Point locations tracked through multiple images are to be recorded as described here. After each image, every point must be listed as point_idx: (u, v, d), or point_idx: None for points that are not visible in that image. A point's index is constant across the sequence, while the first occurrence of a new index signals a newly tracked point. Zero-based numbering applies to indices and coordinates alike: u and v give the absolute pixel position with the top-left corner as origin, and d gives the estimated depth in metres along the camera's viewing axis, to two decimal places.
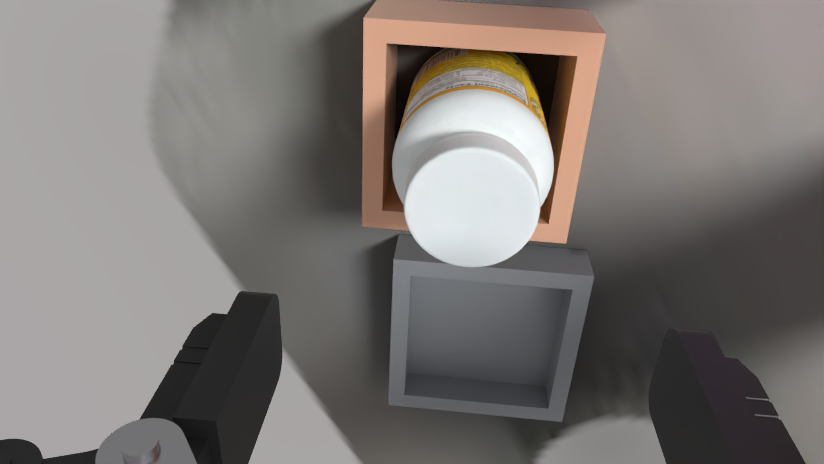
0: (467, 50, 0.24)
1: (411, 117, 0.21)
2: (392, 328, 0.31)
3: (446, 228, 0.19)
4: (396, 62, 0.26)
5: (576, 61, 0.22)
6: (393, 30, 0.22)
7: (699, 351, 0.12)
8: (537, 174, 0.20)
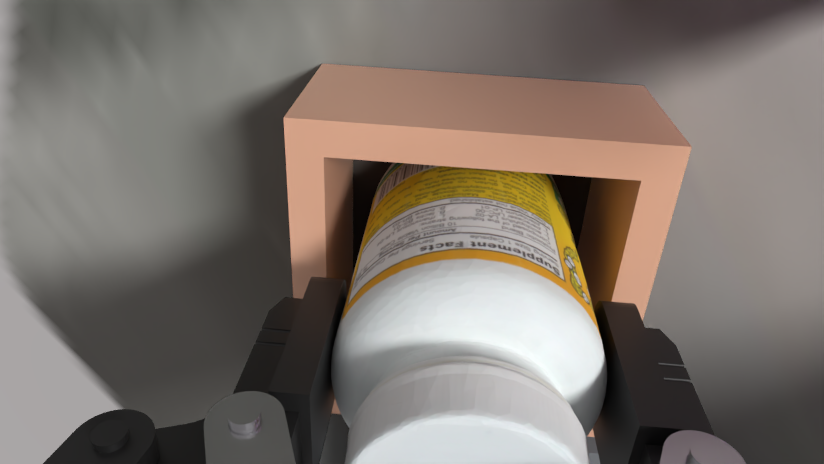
0: None
1: (360, 302, 0.12)
2: None
3: None
4: (351, 158, 0.17)
5: (638, 187, 0.13)
6: (334, 137, 0.13)
7: (621, 321, 0.13)
8: (581, 406, 0.12)
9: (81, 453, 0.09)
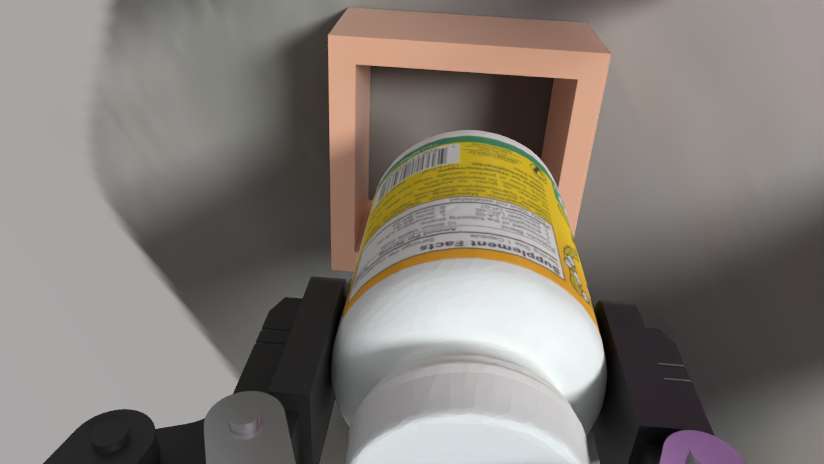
0: (458, 152, 0.15)
1: (360, 301, 0.12)
2: None
3: None
4: (369, 81, 0.23)
5: (576, 85, 0.19)
6: (363, 49, 0.19)
7: (620, 320, 0.13)
8: (581, 405, 0.12)
9: (81, 453, 0.09)
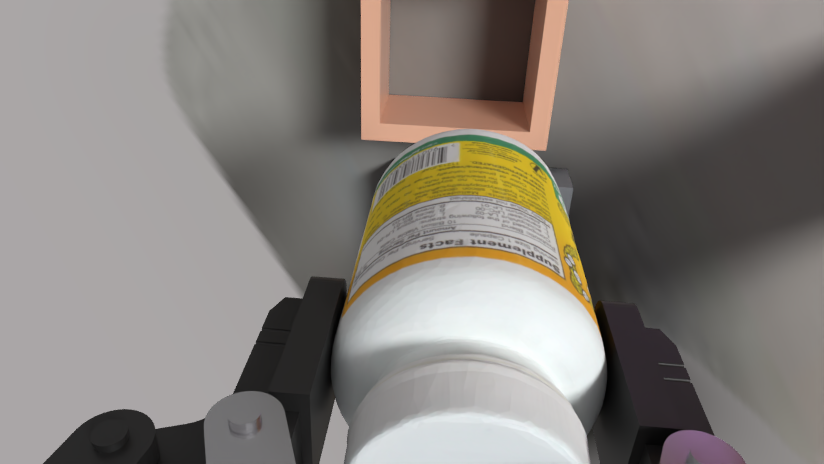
0: (458, 151, 0.15)
1: (360, 300, 0.12)
2: None
3: None
4: None
5: None
6: None
7: (620, 321, 0.13)
8: (581, 404, 0.12)
9: (81, 453, 0.09)
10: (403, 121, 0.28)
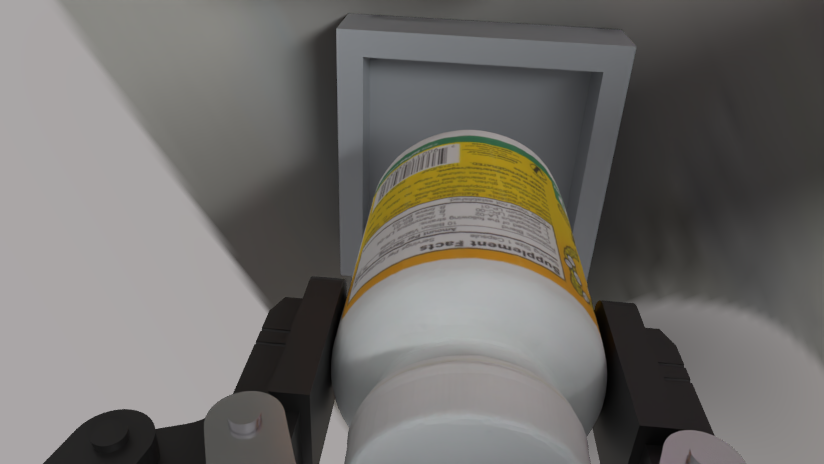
0: (458, 152, 0.15)
1: (360, 302, 0.12)
2: (340, 149, 0.21)
3: None
4: None
5: None
6: None
7: (621, 320, 0.13)
8: (582, 406, 0.12)
9: (81, 453, 0.09)
10: None
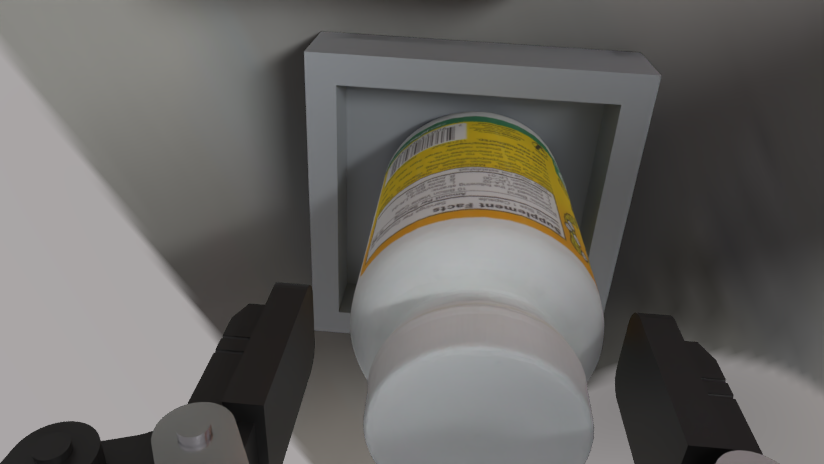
0: (465, 130, 0.17)
1: (378, 258, 0.13)
2: (311, 190, 0.18)
3: (435, 459, 0.12)
4: None
5: None
6: None
7: (659, 334, 0.12)
8: (581, 353, 0.13)
9: None
10: None
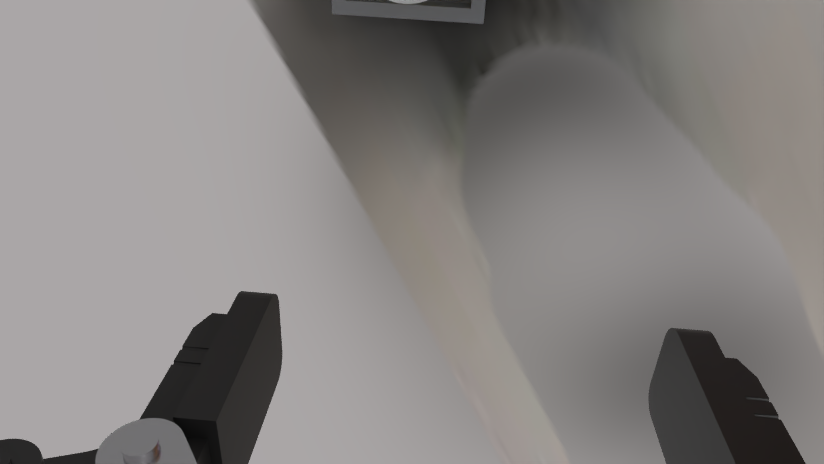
0: None
1: None
2: None
3: None
4: None
5: None
6: None
7: (699, 351, 0.12)
8: None
9: None
10: None
